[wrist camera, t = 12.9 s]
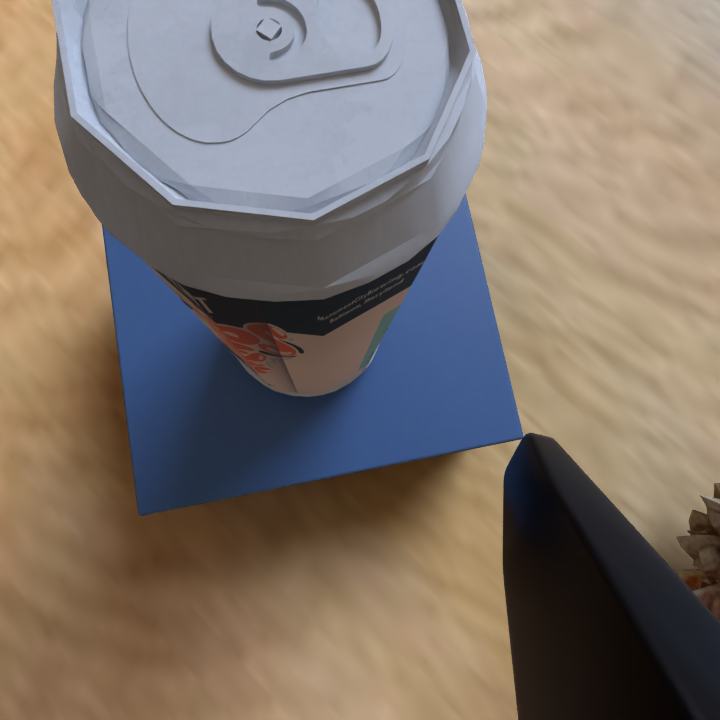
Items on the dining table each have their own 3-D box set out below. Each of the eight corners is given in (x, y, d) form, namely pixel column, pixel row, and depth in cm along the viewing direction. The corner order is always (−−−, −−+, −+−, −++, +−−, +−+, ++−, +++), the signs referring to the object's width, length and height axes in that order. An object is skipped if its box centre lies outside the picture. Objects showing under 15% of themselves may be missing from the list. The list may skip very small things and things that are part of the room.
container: (481, 440, 21) (525, 438, 17) (179, 501, 20) (137, 517, 15) (429, 209, 23) (456, 150, 18) (145, 253, 21) (98, 201, 17)
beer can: (217, 267, 17) (-31, -158, 5) (362, 239, 17) (447, -209, 6) (246, 414, 16) (39, 321, 4) (396, 380, 17) (579, 214, 5)
